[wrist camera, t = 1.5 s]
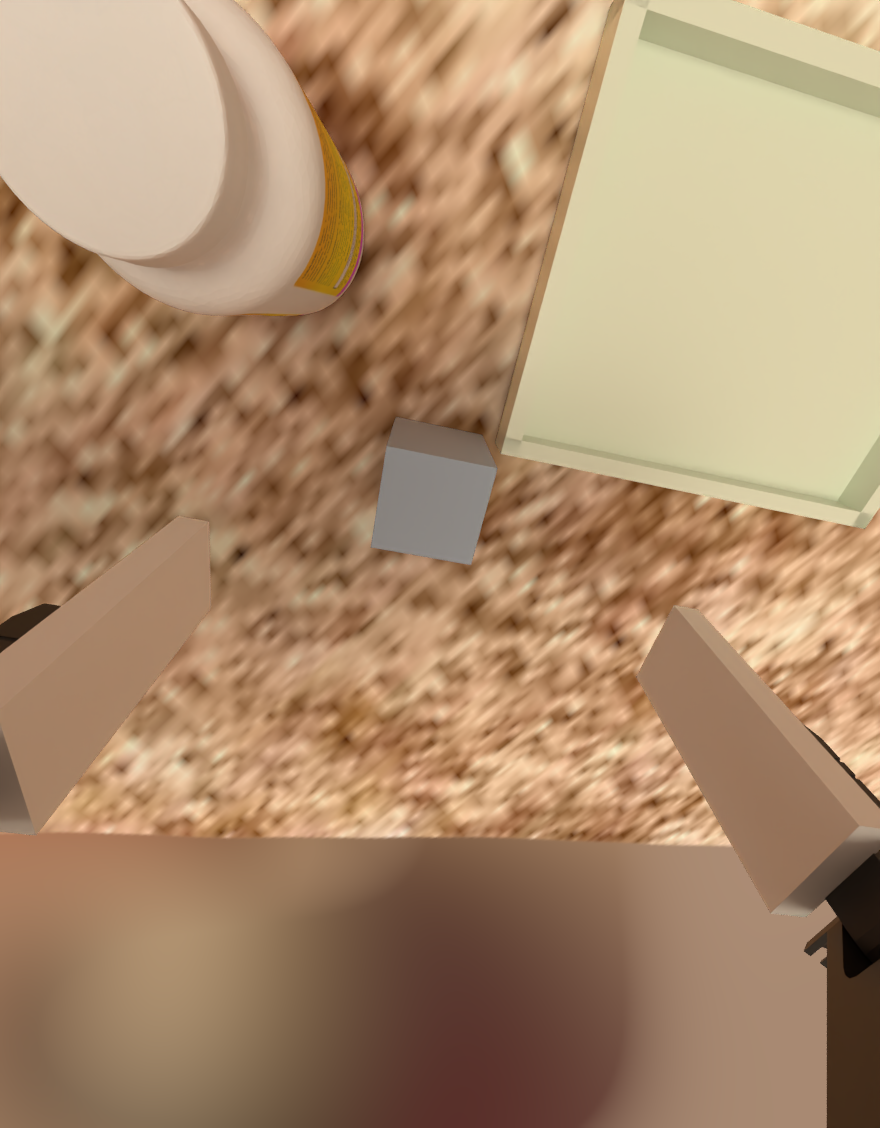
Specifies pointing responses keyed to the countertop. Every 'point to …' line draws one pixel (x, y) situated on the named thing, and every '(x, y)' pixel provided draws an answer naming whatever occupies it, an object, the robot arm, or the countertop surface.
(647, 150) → the tray
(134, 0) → the supplement bottle
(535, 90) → the countertop surface
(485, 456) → the grey rectangular block
